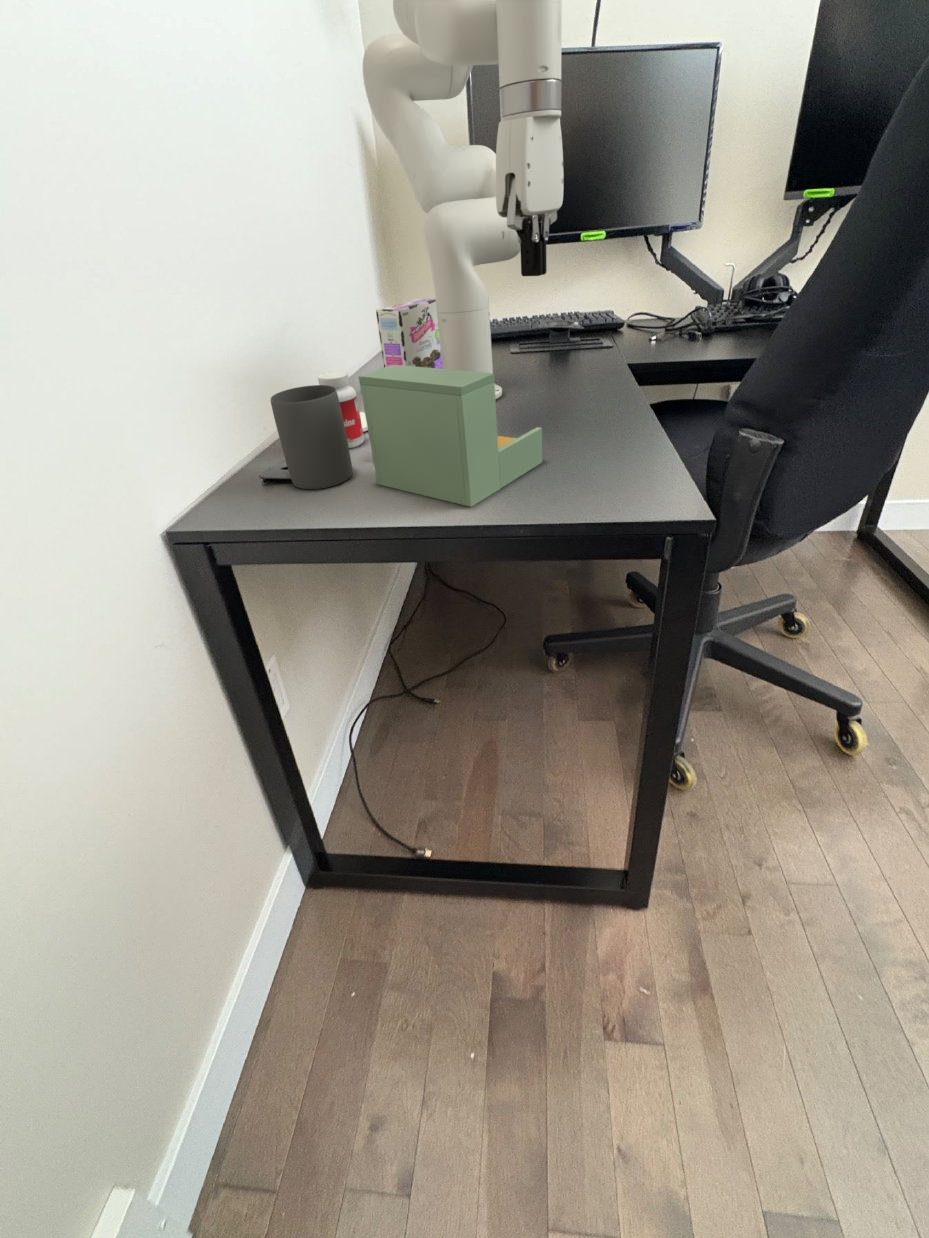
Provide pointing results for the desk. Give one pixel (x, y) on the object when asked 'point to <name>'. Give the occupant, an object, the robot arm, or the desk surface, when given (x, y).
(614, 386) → the desk surface
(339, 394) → the pill bottle
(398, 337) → the candy box
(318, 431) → the mug
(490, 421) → the green block
